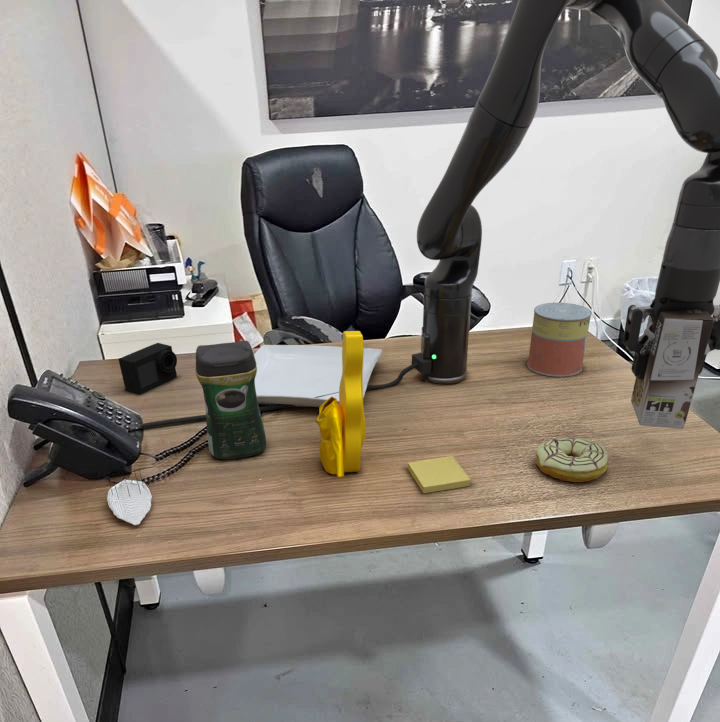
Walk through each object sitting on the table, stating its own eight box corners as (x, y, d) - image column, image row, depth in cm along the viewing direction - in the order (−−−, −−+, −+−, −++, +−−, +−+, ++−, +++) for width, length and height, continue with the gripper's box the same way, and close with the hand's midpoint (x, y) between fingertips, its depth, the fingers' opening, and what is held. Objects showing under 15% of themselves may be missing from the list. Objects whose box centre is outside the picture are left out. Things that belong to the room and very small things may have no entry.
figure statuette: (311, 442, 112) (303, 317, 101) (356, 437, 113) (353, 313, 102) (327, 498, 97) (319, 358, 86) (378, 491, 99) (377, 353, 87)
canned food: (588, 376, 134) (598, 319, 127) (533, 377, 134) (540, 320, 128) (574, 356, 143) (582, 302, 137) (522, 356, 144) (529, 302, 137)
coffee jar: (263, 434, 115) (252, 332, 105) (269, 456, 108) (257, 349, 99) (207, 442, 113) (191, 339, 103) (210, 464, 106) (192, 356, 97)
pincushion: (159, 522, 93) (152, 489, 90) (115, 533, 91) (105, 500, 88) (146, 482, 102) (138, 450, 99) (105, 491, 100) (96, 459, 97)
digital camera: (143, 396, 130) (136, 363, 126) (125, 390, 132) (117, 358, 129) (181, 378, 137) (176, 346, 134) (163, 373, 140) (157, 342, 136)
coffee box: (685, 429, 93) (716, 319, 85) (638, 426, 95) (663, 317, 86) (673, 402, 101) (699, 299, 92) (629, 400, 102) (651, 297, 94)
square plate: (383, 363, 142) (383, 346, 140) (361, 419, 119) (361, 400, 117) (263, 357, 146) (262, 341, 144) (220, 411, 123) (217, 392, 121)
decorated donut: (538, 448, 109) (541, 428, 107) (606, 457, 106) (610, 437, 104) (531, 479, 100) (534, 458, 99) (604, 490, 97) (609, 469, 95)
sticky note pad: (423, 493, 98) (423, 487, 97) (407, 468, 104) (407, 462, 103) (470, 486, 99) (471, 479, 99) (452, 461, 106) (452, 455, 105)
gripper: (734, 252, 89) (702, 366, 98) (628, 254, 89) (606, 367, 98) (762, 266, 83) (726, 386, 92) (649, 268, 83) (623, 388, 92)
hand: (664, 376), depth 95 cm, fingers closed on coffee box, 7 cm apart
